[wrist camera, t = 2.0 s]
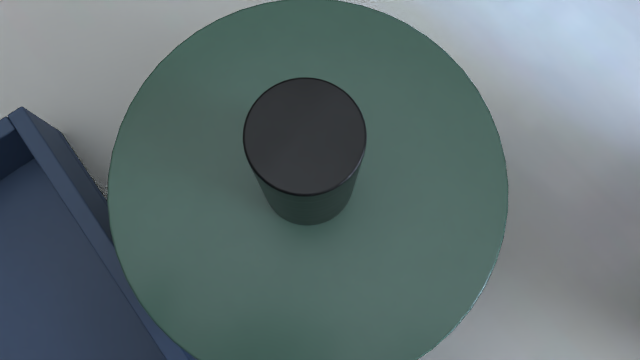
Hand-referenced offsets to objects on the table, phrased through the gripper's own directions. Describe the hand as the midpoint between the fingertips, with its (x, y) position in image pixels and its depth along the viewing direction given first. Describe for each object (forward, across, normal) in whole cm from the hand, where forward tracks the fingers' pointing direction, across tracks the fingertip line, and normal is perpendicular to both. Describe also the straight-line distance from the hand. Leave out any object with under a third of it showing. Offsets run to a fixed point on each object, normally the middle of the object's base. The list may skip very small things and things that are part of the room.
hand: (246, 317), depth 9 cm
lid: (+7, 0, +2) cm, 7 cm away
